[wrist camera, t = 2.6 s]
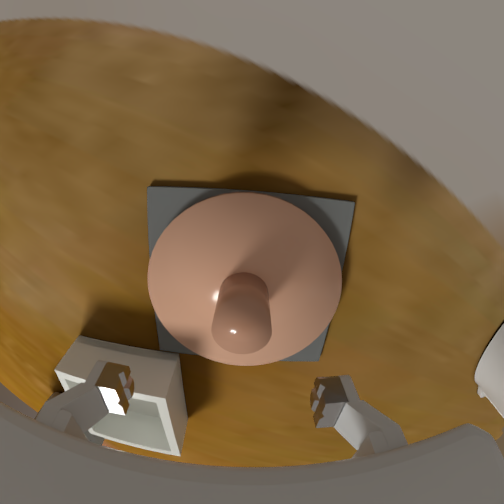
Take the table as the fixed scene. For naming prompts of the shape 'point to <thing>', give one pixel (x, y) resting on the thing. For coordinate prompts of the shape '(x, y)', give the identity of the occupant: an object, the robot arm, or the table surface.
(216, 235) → the lid
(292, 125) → the table surface
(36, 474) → the robot arm
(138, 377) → the dish
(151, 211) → the mat
